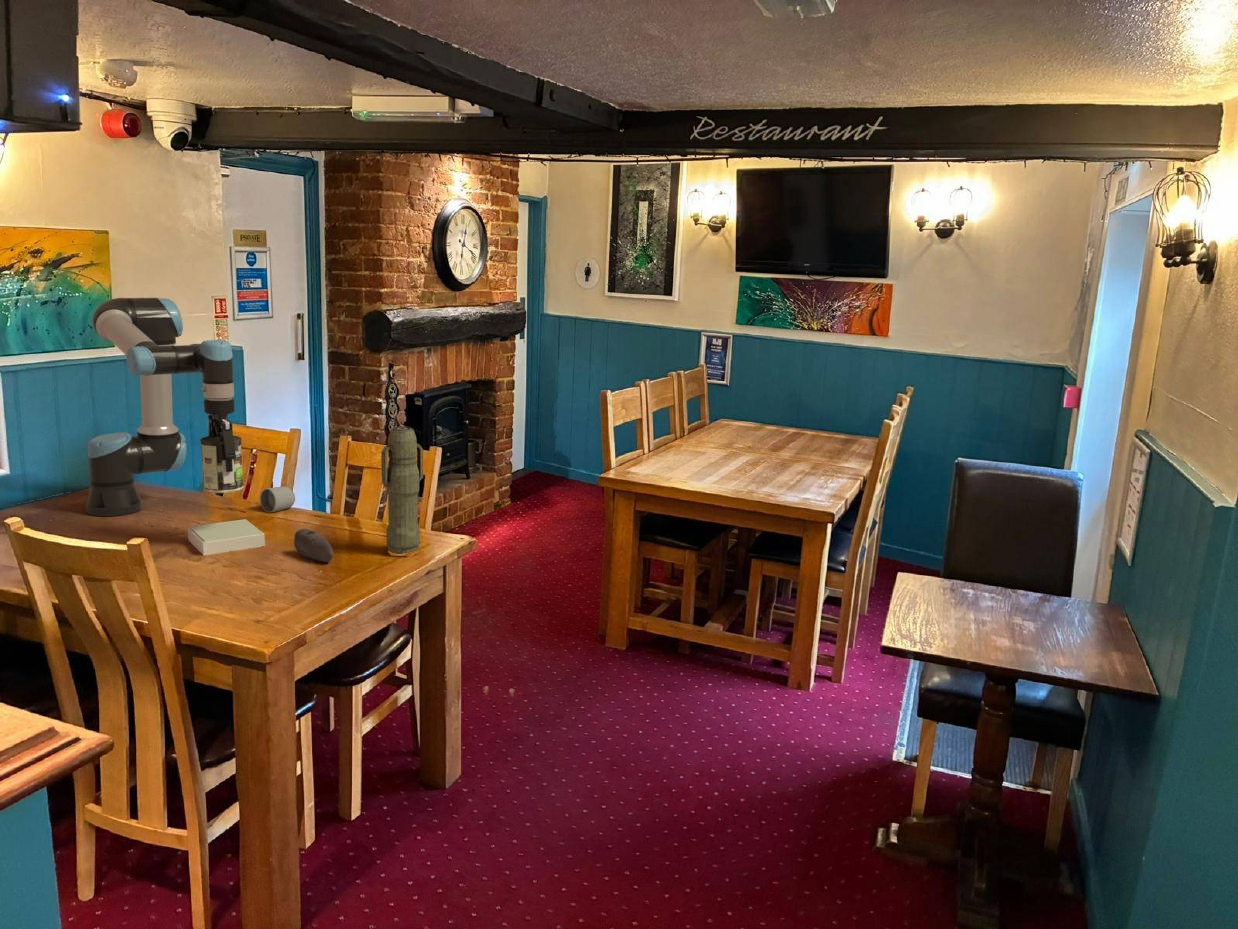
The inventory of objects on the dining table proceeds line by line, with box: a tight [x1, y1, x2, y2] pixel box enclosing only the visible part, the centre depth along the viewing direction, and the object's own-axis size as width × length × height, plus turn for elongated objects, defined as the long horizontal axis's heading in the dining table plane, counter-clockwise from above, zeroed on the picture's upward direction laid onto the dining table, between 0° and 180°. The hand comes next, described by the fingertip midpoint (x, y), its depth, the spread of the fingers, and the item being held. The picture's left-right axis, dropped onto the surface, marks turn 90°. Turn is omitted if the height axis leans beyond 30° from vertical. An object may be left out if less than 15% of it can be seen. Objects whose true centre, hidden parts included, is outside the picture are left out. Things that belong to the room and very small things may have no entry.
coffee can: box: [199, 435, 244, 494], centre depth 248 cm, size 10×10×14 cm
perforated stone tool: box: [293, 528, 334, 563], centre depth 243 cm, size 15×5×7 cm, turn 48°
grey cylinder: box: [259, 486, 296, 514], centre depth 287 cm, size 11×8×8 cm
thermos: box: [380, 426, 424, 554], centre depth 248 cm, size 9×12×35 cm
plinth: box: [187, 518, 266, 556], centre depth 252 cm, size 16×16×4 cm
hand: (223, 478), depth 249 cm, fingers closed on coffee can, 10 cm apart
